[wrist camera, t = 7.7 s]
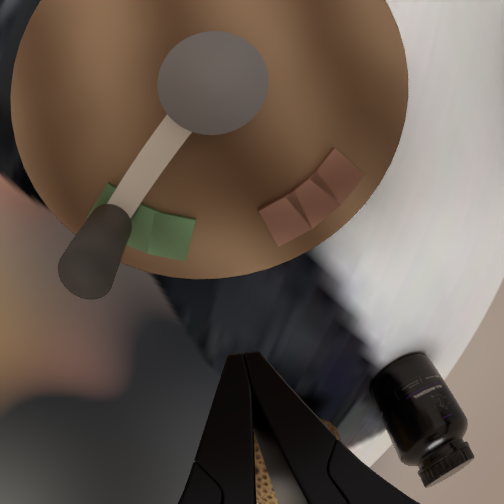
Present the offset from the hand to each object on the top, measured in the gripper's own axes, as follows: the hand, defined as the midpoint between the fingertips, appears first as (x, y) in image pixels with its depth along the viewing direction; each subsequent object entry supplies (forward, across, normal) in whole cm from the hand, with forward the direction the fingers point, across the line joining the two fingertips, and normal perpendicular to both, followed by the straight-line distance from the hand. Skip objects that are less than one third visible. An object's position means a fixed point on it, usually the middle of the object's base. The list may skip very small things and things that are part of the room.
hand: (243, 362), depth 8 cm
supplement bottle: (+9, -16, +17) cm, 25 cm away
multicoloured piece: (+8, +2, -5) cm, 9 cm away
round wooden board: (+9, 0, -7) cm, 12 cm away
